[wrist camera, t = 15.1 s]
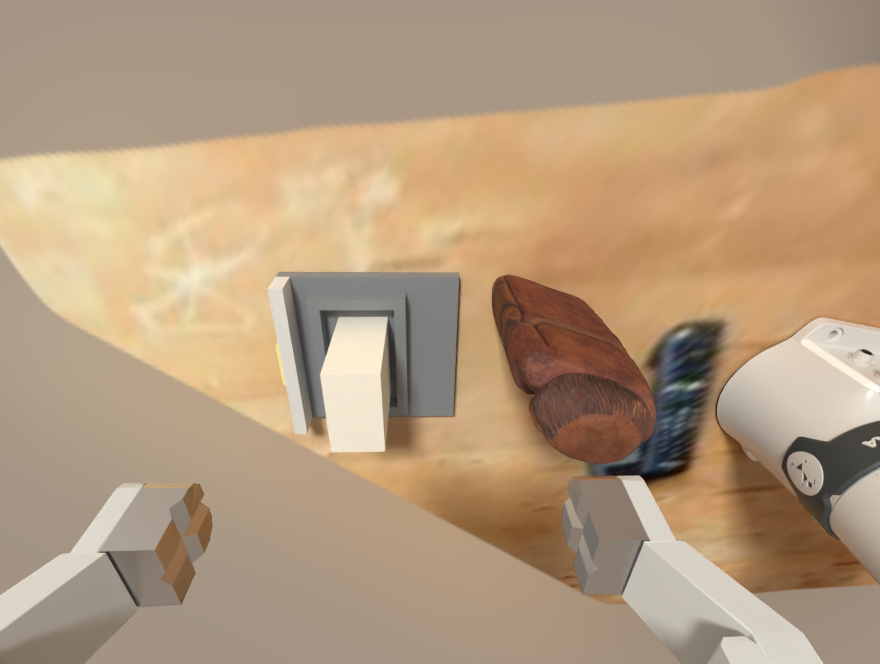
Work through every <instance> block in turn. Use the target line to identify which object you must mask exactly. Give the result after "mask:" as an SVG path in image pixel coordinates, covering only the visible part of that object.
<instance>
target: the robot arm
mask: <svg viewBox="0 0 880 664" xmlns="http://www.w3.org/2000/svg"><path fill="white" fill-rule="evenodd" d="M717 418H718V421H719V424H720V426H721V427H722V429H723V430H724V431H725V432H726V433H727V434H728V435H730V436H731V437H732V438H734V439H735V440H736V441H738V442H739V443H740V444H741V447H742V449H743V451H744V453H745V454H746V455H747V456H748V457H749V458H750V459H751V460H752V461H759V462H760V463H761V464H762V465H763V466H764V467H765V468H766V469H767V470H768V471H769V472H770V473H771V474H772V475H773V476H774V477H775V478H776V479H778V480H779V481H780V482H781V483H782V484H783V485H784V486H785V487H786V488H787V489H788V490H789V491H790V492H791V493H792V494H793V495H794V496H795V497H796V498H798V500H799V501H800V503H801V504H802V505H803V506H804V507H805V508H806V509H807V511H808V512H809V513H810V514H811V515H812V518H813V519H814V520H815V521H816V523H818V524H819V525H820V526H822V527H823V528H824V529H825V530H826V532H827V533H828V534H829V535H831V536H832V537H834V538H836V539H838V540H841V541H842V542H843V543H844V545H845V546H846V547H847V548H848V549H849V550H850V552H851V553H852V554H853V555H854V556H855V557H856V558H857V560H858V561H859V562H860V563H861V564H862V565H863V566H864V568H865V569H866V570H867V571H868V572H869V573H870V575H871V576H872V577H873V578H874V579H875V580H876V581H877V583H878V584H879V585H880V328H876V327H871V326H866V325H860V324H855V323H850V322H845V321H840V320H835V319H830V318H818V319H815V320H813V321H811V322H810V323H808V324H807V325H806V326H804V327H803V328H802V329H801V330H799V331H798V332H797V333H796V334H795V335H793V336H792V337H791V338H789V339H788V340H786V341H784V342H782V343H780V344H778V345H776V346H773V347H771V348H769V349H767V350H765V351H763V352H762V353H760V354H758V355H757V356H755V357H754V358H752V359H751V360H750V361H748V362H747V363H746V364H744V365H743V366H742V367H741V368H740V369H739V370H738V371H737V372H736V373H735V374H734V375H733V376H732V377H731V379H730V380H729V381H728V383H727V384H726V386H725V387H724V389H723V391H722V393H721V395H720V398H719V401H718V405H717ZM567 489H568V492H569V495H570V498H569V499H567V500H566V501H565V502H564V506H563V511H562V522H563V530H564V535H565V538H566V542H567V545H568V546H569V547H570V548H571V549H572V550H573V551H574V552H575V553H576V556H575V560H574V564H573V565H574V568H575V572H576V575H577V578H578V581H579V585H580V588H581V591H582V594H583V595H623V596H622V597H623V599H624V600H625V601H626V602H627V603H628V604H629V605H630V606H631V607H632V609H633V610H634V611H635V612H636V613H637V614H638V615H639V617H640V618H641V619H642V620H643V621H644V622H645V623H646V624H647V626H648V627H649V628H650V629H651V630H652V631H653V632H654V633H655V634H656V636H657V637H658V638H659V639H660V640H661V641H662V642H663V644H664V645H665V646H666V647H667V648H668V649H669V650H670V651H671V652H672V654H673V655H674V656H675V657H676V658H677V659H678V660H679V662H680V663H681V664H823V662H822V661H821V659H820V658H819V656H818V655H817V653H816V652H815V650H814V649H813V647H812V646H811V644H810V643H809V641H808V640H807V638H806V637H805V635H804V634H803V633H802V632H801V631H800V630H799V629H797V628H796V627H795V626H793V625H792V624H791V623H789V622H788V621H787V620H785V619H784V618H782V616H780V615H779V614H777V613H776V612H775V611H774V610H773V609H771V608H770V607H769V606H767V605H766V604H765V603H764V602H762V601H761V600H760V599H758V598H757V597H756V596H755V595H753V594H752V593H751V592H749V591H748V590H747V589H745V588H744V587H743V586H742V585H740V584H739V583H738V582H736V581H735V580H734V579H733V578H731V577H730V576H729V575H727V574H726V573H725V572H723V571H722V570H721V569H720V568H718V567H717V566H716V565H714V564H713V563H712V562H711V561H709V560H708V559H707V558H705V557H704V556H703V555H701V554H700V553H699V552H698V551H696V550H695V549H694V548H692V547H691V546H690V545H689V544H687V543H686V542H685V541H677V540H676V538H675V537H674V535H673V533H672V531H671V529H670V527H669V526H668V524H667V522H666V520H665V518H664V516H663V514H662V513H661V511H660V509H659V507H658V505H657V503H656V502H655V500H654V498H653V496H652V494H651V492H650V491H649V489H648V487H647V485H646V483H645V481H644V479H642V478H641V477H640V476H616V477H615V476H591V477H572V478H571V479H570V481H569V484H568V488H567ZM203 496H204V493H203V490H202V488H201V486H200V484H196V483H124V484H122V485H121V486H119V487H118V488H117V489H116V490H115V491H114V492H113V494H112V495H111V497H110V498H109V499H108V501H107V502H106V503H105V505H104V506H103V508H102V509H101V511H100V512H99V513H98V515H97V516H96V517H95V519H94V520H93V522H92V523H91V524H90V526H89V527H88V529H87V530H86V531H85V533H84V534H83V536H82V537H81V538H80V540H79V541H78V542H77V544H76V545H75V547H74V548H73V549H72V551H71V552H70V553H63V554H61V555H59V556H58V557H56V558H55V559H53V560H52V561H50V562H49V563H47V564H46V565H44V566H43V567H41V568H40V569H39V570H37V571H36V572H34V573H33V574H31V575H30V576H28V577H27V578H25V579H24V580H22V581H21V582H19V583H18V584H16V585H15V586H14V587H12V588H11V589H9V590H8V591H6V592H5V593H3V594H2V595H0V664H84V663H85V662H86V661H87V660H88V659H89V658H90V657H91V656H92V655H93V654H94V653H95V652H96V651H97V650H98V649H99V648H100V647H101V646H102V645H103V644H104V643H105V642H106V641H107V640H108V639H109V638H110V637H111V636H112V635H113V634H115V633H116V632H117V630H119V628H121V626H123V625H124V624H125V623H126V622H127V620H129V619H130V618H131V617H132V615H134V614H135V613H136V612H137V611H138V607H151V606H167V605H168V606H169V605H182V602H183V600H184V598H185V595H186V593H187V591H188V589H189V586H190V584H191V582H192V580H193V578H194V575H195V570H194V567H193V562H194V561H196V560H197V559H198V558H199V557H200V556H201V555H203V554H204V553H205V550H206V548H207V545H208V543H209V541H210V536H211V531H212V515H211V512H210V509H209V508H208V507H207V506H205V505H204V504H203V503H201V500H202V498H203Z"/></svg>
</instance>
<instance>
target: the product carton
mask: <svg viewBox="0 0 880 664" xmlns="http://www.w3.org/2000/svg"><path fill="white" fill-rule="evenodd" d="M320 378H321V385H322V392H323V399H324V405H325V412H326V419H327V426H328V433H329V440H330V446H331V452H378V451H385V448H386V437H387V426H388V416H389V405H390V394H391V370H390V350H389V329H388V317H339V318H338V321H337V324H336V327H335V330H334V333H333V336H332V339H331V342H330V345H329V349H328V352H327V355H326V358H325V361H324V364H323V367H322V370H321V373H320Z"/></svg>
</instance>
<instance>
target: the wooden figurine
mask: <svg viewBox="0 0 880 664" xmlns="http://www.w3.org/2000/svg"><path fill="white" fill-rule="evenodd" d="M492 309H493V314H494V317H495V321H496V325H497V328H498V331H499V334H500V337H501V339H502V342H503V345H504V348H505V352H506V355H507V358H508V362H509V365H510V369H511V372H512V375H513V378H514V380H515V382H516V384H517V386H518V387H519V388H520V389H521V390H523V391H524V392H526V393H527V394H535V396H534V397H533V398H532V400H531V402H530V404H529V411H530V413H531V415H532V417H533V420H534V423H535V425H536V427H537V428H538V429H539V430H540V431H541V432H543V434H544V435H545V437H546V439H547V441H548V442H549V443H550V444H551V445H552V446H553V447H554V448H555V449H557V450H558V451H559V452H561V453H563V454H564V455H566V456H568V457H570V458H573V459H577V460H581V461H584V462H588V463H595V464H606V463H612V462H617V461H620V460H622V459H624V458H625V457H627V456H629V455H630V454H632V453H633V452H634V451H635V450H636V449H637V448H638V447H639V445H640V444H641V443H643V442H645V441H646V440H647V439H649V438H650V437H651V435H652V433H653V429H654V424H655V412H656V409H655V405H654V399H653V396H652V393H651V390H650V388H649V386H648V383H647V381H646V380H645V378H644V376H643V375H642V373H641V371H640V370H639V368H638V367H637V365H636V364H635V362H634V361H633V360H632V359H631V358H630V356H629V354H628V353H627V351H626V349H625V348H624V347H623V346H622V344H621V342H620V340H619V339H618V338H617V337H616V336H615V335H614V334H613V333H612V332H611V331H610V329H609V328H608V327H607V326H606V325H605V324H604V322H603V321H602V319H601V318H600V317H599V316H598V315H597V314H596V313H595V312H594V311H593V310H592V309H591V308H590V307H589V306H588V305H587V304H586V303H585V302H584V301H583V300H581V299H579V298H577V297H575V296H572V295H569V294H567V293H564V292H560V291H557V290H554V289H551V288H548V287H545V286H543V285H540V284H538V283H536V282H533V281H530V280H527V279H524V278H520V277H516V276H512V275H506V276H502V277H499V278H498V279H497V280H496V281H495V282H494V285H493V289H492Z"/></svg>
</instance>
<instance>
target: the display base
mask: <svg viewBox="0 0 880 664" xmlns="http://www.w3.org/2000/svg"><path fill="white" fill-rule="evenodd" d="M267 290H268V295H269V300H270V305H271V310H272V316H273V321H274V326H275V331H276V336H277V344H276V351H277V356H278V361H279V366H280V371H281V377H282V382H283V385H286V388H287V393H288V399H289V404H290V409H291V414H292V419H293V425H294V430H295V434H308V430H309V427H310V424H311V421H312V417H326V412H325V405H324V399H323V392H322V385H321V378H320V373H321V370H322V367H323V364H324V361H325V358H326V355H327V352H328V349H329V345H330V342H331V339H332V336H333V333H334V330H335V327H336V324H337V321H338V318H339V317H388V329H389V350H390V370H391V394H390V405H389V416H453V409H454V386H455V363H456V340H457V317H458V294H459V273H380V272H279V273H278V274H277V276H276V277H275V279H274V280H273V282H272V283H271V285H270V286H269V287H268V289H267Z"/></svg>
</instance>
